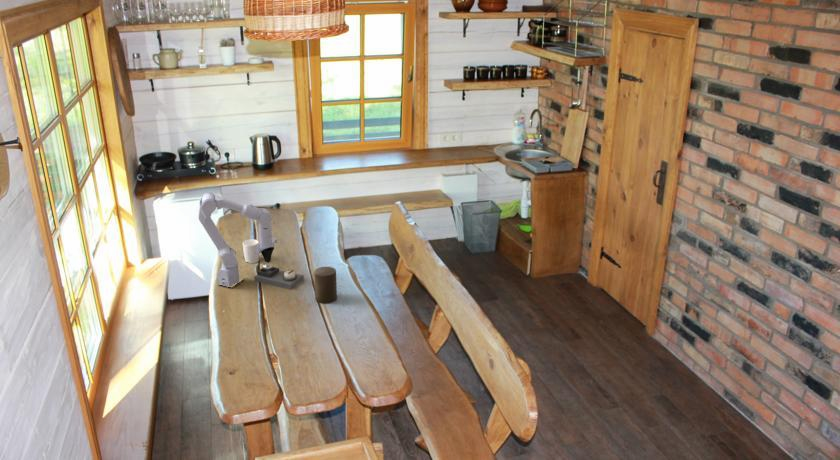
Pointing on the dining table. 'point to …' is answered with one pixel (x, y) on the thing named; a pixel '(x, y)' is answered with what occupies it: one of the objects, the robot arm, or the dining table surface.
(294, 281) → the console
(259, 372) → the dining table surface
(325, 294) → the pillar candle
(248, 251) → the white cup
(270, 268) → the press knob
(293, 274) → the dial knob
